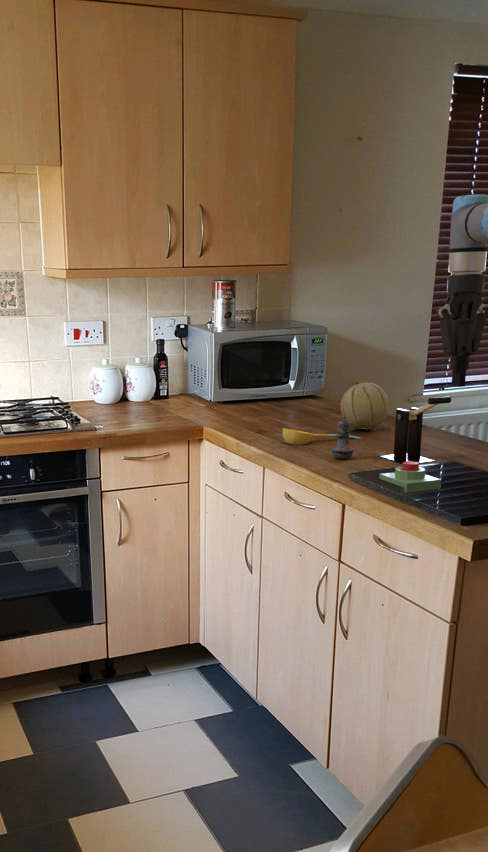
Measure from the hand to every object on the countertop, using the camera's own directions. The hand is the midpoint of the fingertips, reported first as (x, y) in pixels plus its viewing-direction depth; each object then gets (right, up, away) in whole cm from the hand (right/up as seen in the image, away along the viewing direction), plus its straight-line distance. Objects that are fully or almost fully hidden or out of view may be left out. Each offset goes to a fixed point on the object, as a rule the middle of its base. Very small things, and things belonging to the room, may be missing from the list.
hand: (458, 385), depth 194 cm
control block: (-9, -22, +6) cm, 24 cm away
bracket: (-3, -13, +30) cm, 33 cm away
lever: (-2, -3, +20) cm, 20 cm away
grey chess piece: (-19, -13, +33) cm, 40 cm away
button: (-9, -18, +5) cm, 21 cm away
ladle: (-19, -5, +58) cm, 61 cm away
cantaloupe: (-3, +3, +80) cm, 80 cm away
